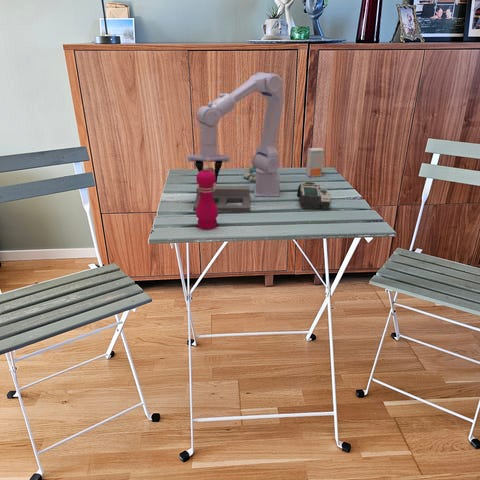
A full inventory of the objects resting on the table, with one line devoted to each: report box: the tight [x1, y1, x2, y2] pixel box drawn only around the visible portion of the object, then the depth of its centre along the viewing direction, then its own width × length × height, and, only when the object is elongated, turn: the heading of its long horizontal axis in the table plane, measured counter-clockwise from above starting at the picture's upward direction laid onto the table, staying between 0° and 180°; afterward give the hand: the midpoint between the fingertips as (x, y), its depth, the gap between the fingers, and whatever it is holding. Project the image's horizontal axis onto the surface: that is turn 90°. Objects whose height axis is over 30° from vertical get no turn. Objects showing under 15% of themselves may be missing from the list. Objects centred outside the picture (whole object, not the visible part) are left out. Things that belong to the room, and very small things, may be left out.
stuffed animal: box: [242, 163, 256, 182], centre depth 175 cm, size 11×7×12 cm
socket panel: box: [192, 184, 251, 213], centre depth 148 cm, size 20×16×4 cm
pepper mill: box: [195, 164, 219, 230], centre depth 127 cm, size 7×7×20 cm
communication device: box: [296, 181, 331, 210], centre depth 153 cm, size 12×24×9 cm, turn 174°
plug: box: [208, 167, 217, 191], centre depth 143 cm, size 4×5×7 cm
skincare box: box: [305, 147, 325, 178], centre depth 178 cm, size 6×4×12 cm
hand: (209, 181), depth 144 cm, fingers closed on plug, 4 cm apart
